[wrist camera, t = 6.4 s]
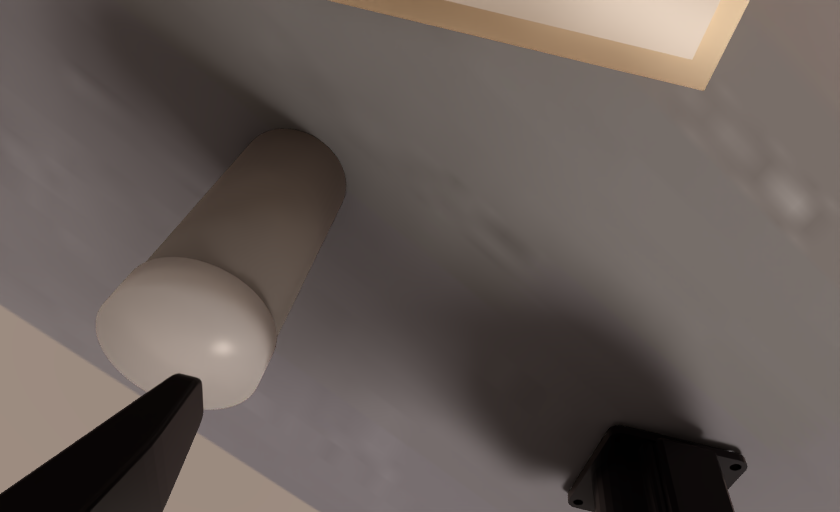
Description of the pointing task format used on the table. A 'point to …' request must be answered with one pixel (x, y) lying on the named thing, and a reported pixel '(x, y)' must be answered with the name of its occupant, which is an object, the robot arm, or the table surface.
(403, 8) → the maple picture frame
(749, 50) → the table surface
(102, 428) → the robot arm
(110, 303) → the pepper shaker
